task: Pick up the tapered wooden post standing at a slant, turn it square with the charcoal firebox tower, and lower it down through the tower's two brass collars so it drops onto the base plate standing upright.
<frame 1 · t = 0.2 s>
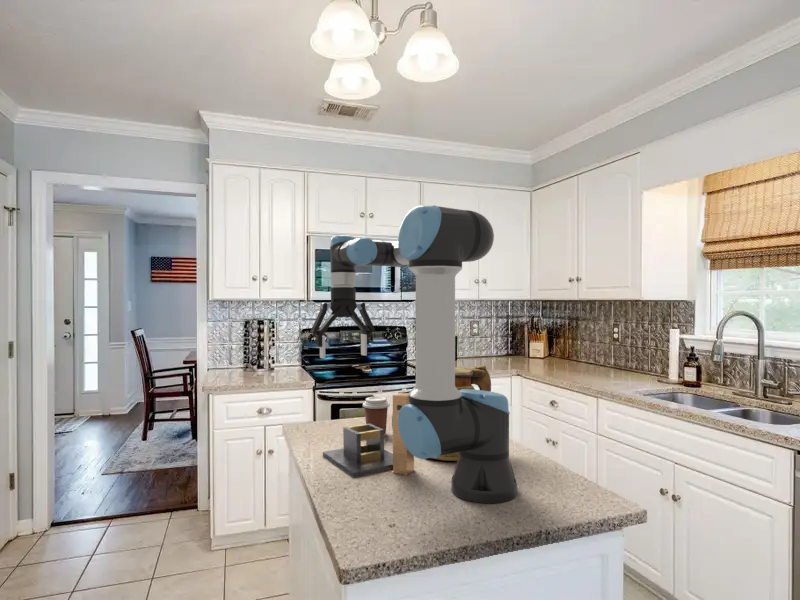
hand: (343, 356, 147), 28 cm above the counter, fingers open, 13 cm apart
coffee cup: (376, 435, 161), on the counter
tankard: (456, 452, 142), on the counter
tapered wooden post: (403, 471, 126), on the counter
flashlight: (413, 427, 171), on the counter
firebox: (363, 460, 134), on the counter
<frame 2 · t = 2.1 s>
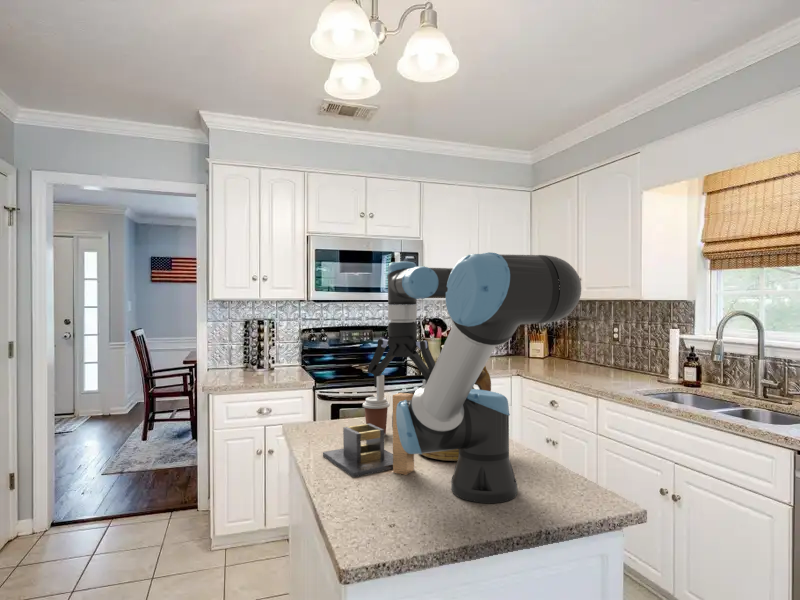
hand: (402, 402, 126), 18 cm above the counter, fingers open, 13 cm apart
nothing on the counter moved.
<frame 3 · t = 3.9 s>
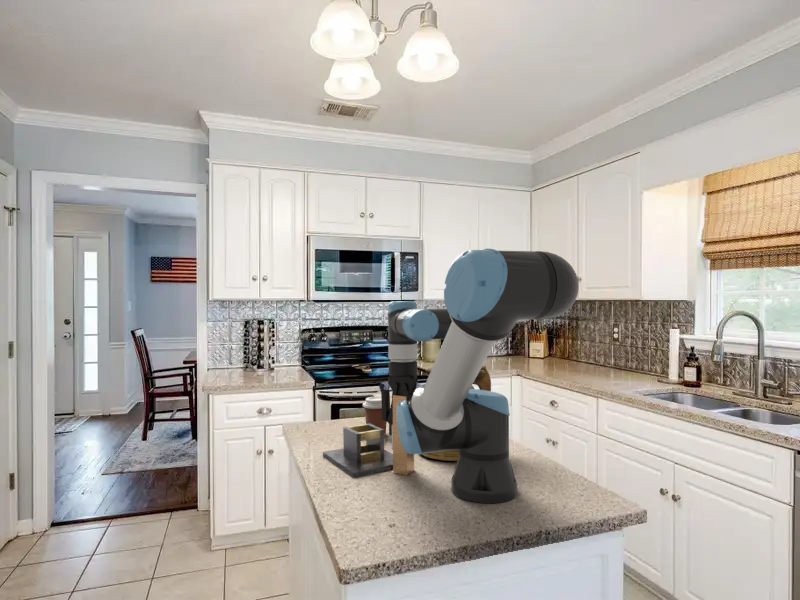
hand: (403, 449, 126), 6 cm above the counter, fingers closed on tapered wooden post, 4 cm apart
tapered wooden post: (403, 471, 126), on the counter, touching gripper
everything else where it was.
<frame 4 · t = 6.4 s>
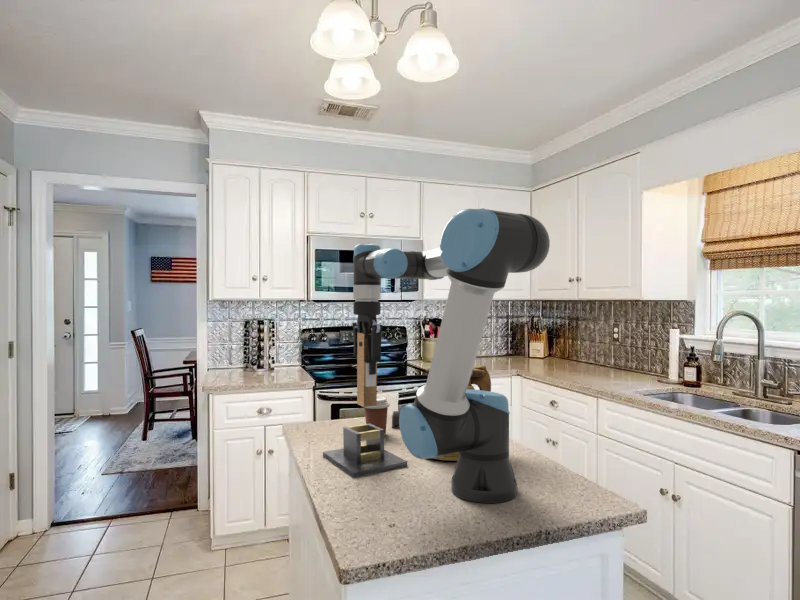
hand: (366, 384, 134), 21 cm above the counter, fingers closed on tapered wooden post, 4 cm apart
tapered wooden post: (366, 404, 134), point 16 cm above the counter, touching gripper
everything else where it was.
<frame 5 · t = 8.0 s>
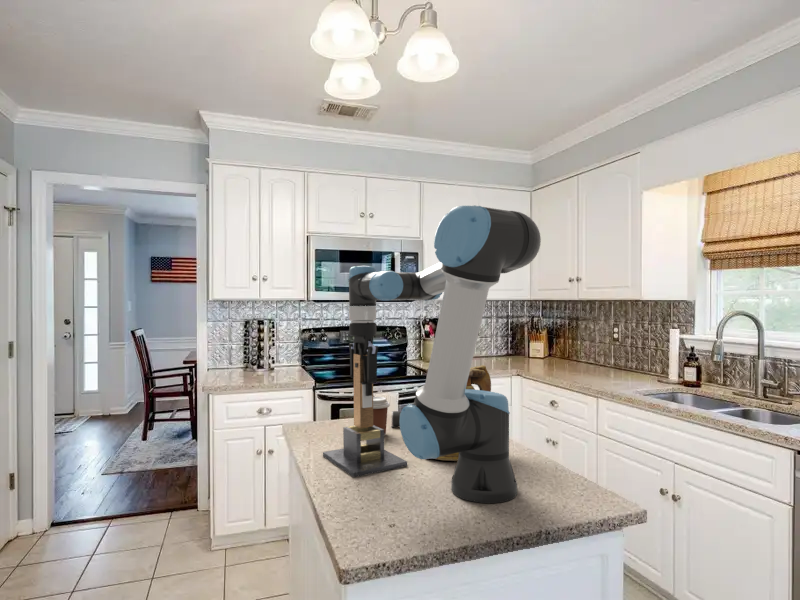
hand: (363, 405, 134), 15 cm above the counter, fingers closed on tapered wooden post, 4 cm apart
tapered wooden post: (363, 425, 134), point 10 cm above the counter, touching gripper
everything else where it was.
when the fingers open (11 cm above the counter, at t = 9.1 s): tapered wooden post drops 4 cm, resting on firebox.
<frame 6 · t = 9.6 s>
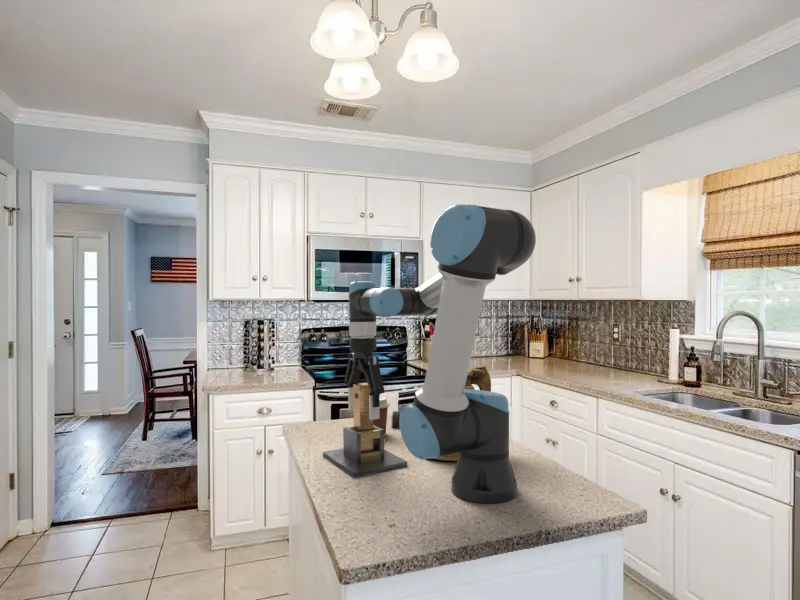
hand: (363, 414, 134), 13 cm above the counter, fingers open, 12 cm apart
tapered wooden post: (363, 456, 134), point 1 cm above the counter, touching firebox
everything else where it was.
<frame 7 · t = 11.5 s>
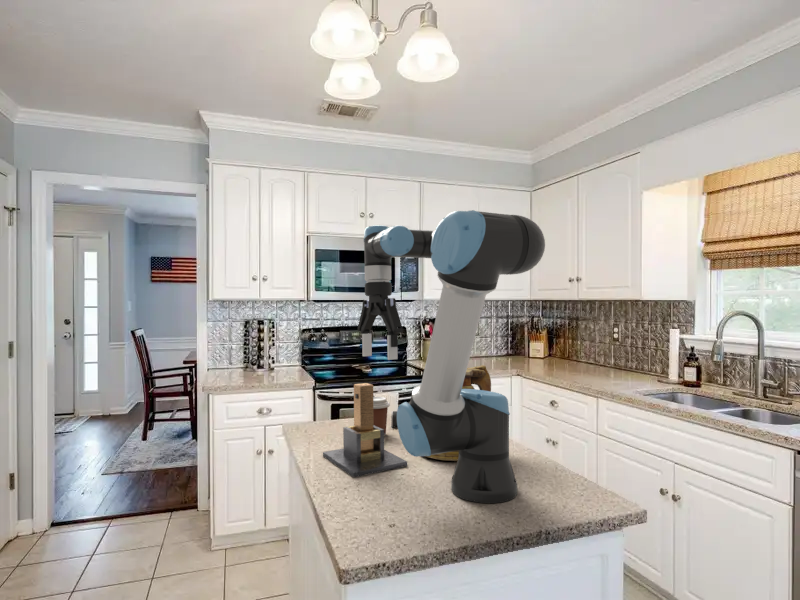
hand: (379, 357, 134), 29 cm above the counter, fingers open, 13 cm apart
nothing on the counter moved.
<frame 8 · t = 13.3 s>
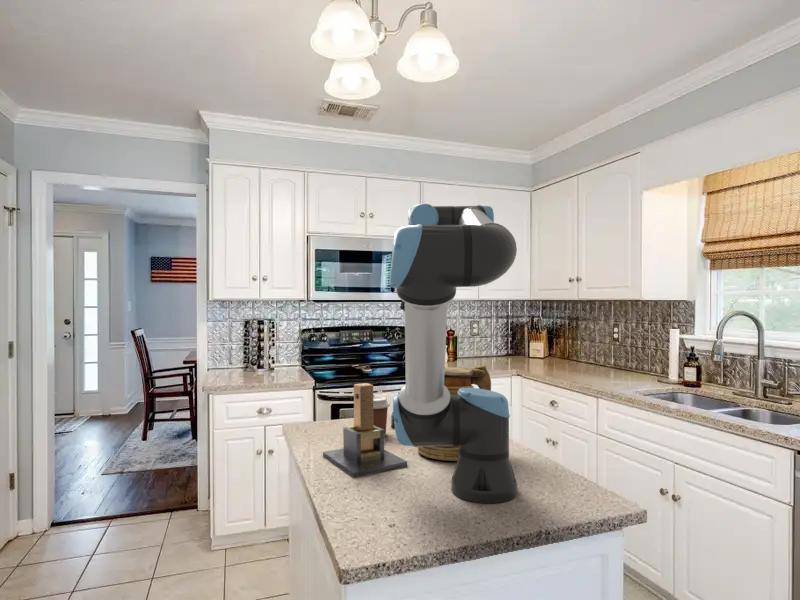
hand: (422, 335, 137), 35 cm above the counter, fingers open, 13 cm apart
nothing on the counter moved.
at the end: tapered wooden post 0.1 cm off-centre on the firebox, point 1.2 cm above the firebox's base; tapered wooden post tilted 0°; the gripper is holding nothing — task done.
